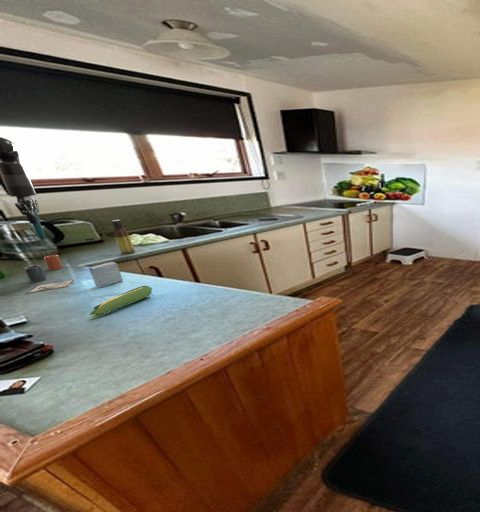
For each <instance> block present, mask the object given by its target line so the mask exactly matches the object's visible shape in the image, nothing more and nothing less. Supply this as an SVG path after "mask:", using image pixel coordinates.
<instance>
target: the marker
mask: <svg viewBox="0 0 480 512" xmlns="http://www.w3.org/2000/svg"><path fill="white" fill-rule="evenodd" d="M33 213H34V215H35V218H36V220H37V223H34V224H32V226H33V229H34V231H35V233H36V236H37V238H39V239H40V240H45V239H46V237H47V235H46V233H45V231H44V228H43V226H42V224H41V221H40V222H39V219H40V218H39V219H38V217H37V215H36V212H33Z"/></svg>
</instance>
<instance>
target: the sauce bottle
mask: <svg viewBox="0 0 480 512" xmlns="http://www.w3.org/2000/svg"><path fill="white" fill-rule="evenodd" d="M111 224H112V225H113V229H114V230H113V232H114V233H113V237H114V239H115V241H116V244H117V246H118V249H119V252H120V253H121V254H122V255H128V254H127V253H129V254H132V253H134V252H135V251H136V250H135V248H134V244H133V242H132V239H131V237H130V234H129V232H128V230H127V229H126V228H125V227H124V226H123V223H122V219H113V220H111Z"/></svg>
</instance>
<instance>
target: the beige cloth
mask: <svg viewBox="0 0 480 512" xmlns="http://www.w3.org/2000/svg"><path fill="white" fill-rule="evenodd" d="M74 282H76V279H70V280H64V281H58V282H51V283H45V284H39V285H35V286H33V288H31V289H30V290H28V291H27V292H25V295H27V294H34V293H39V292H46V291H52V290H57V289H64V288H69V287H70V285H72V284H73V283H74Z"/></svg>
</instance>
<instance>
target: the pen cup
mask: <svg viewBox="0 0 480 512" xmlns="http://www.w3.org/2000/svg"><path fill="white" fill-rule="evenodd" d="M43 259H44V262H45V264H46V266H47V269H48V270H49V271H55V270H60V269H63V268H64V266H63V264H62V261H61V259H60V257H59V254H50V255H46V256H44V257H43Z"/></svg>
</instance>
